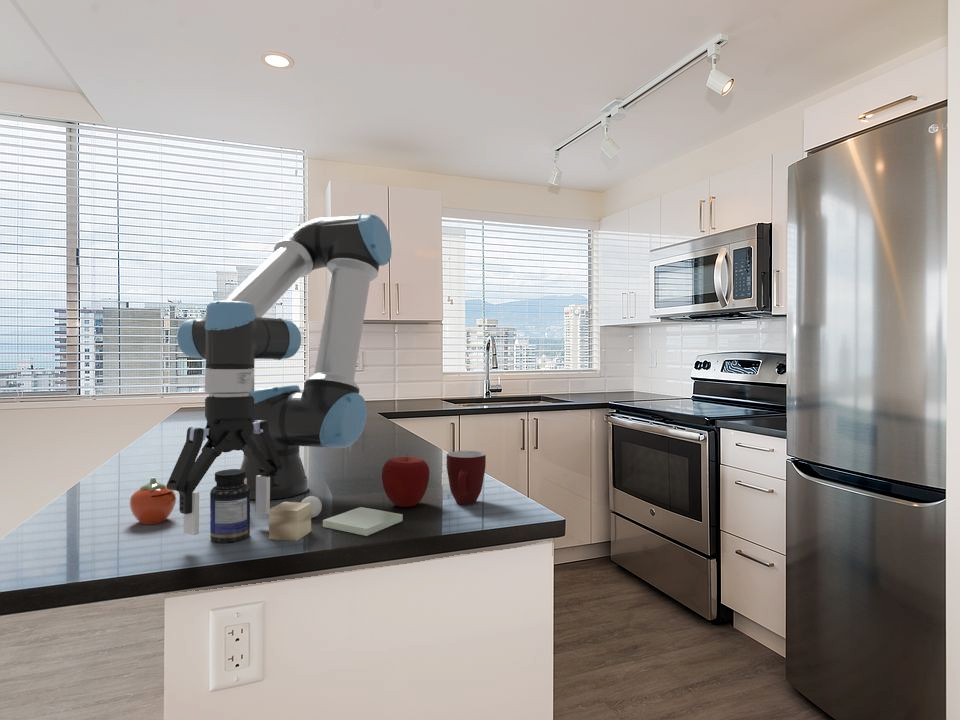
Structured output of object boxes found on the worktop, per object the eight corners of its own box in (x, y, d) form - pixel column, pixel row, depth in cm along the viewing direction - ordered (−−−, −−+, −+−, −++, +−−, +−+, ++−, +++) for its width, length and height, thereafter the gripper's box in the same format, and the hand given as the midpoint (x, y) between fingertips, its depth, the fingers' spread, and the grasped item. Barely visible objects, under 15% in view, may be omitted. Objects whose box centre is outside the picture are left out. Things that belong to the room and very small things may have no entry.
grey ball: (294, 518, 107) (294, 497, 107) (310, 513, 110) (310, 492, 110) (310, 522, 105) (310, 500, 105) (326, 516, 108) (326, 495, 108)
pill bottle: (218, 532, 99) (218, 468, 99) (255, 531, 99) (254, 467, 99) (204, 544, 93) (204, 475, 93) (243, 543, 93) (243, 475, 93)
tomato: (145, 530, 100) (144, 484, 100) (120, 523, 104) (120, 479, 103) (185, 519, 106) (184, 476, 106) (160, 513, 110) (160, 471, 110)
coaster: (322, 526, 102) (322, 520, 102) (360, 513, 111) (360, 506, 111) (366, 535, 97) (366, 528, 97) (402, 520, 106) (402, 514, 106)
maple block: (269, 539, 96) (269, 509, 95) (284, 530, 100) (284, 501, 100) (297, 541, 95) (297, 510, 95) (310, 531, 100) (311, 503, 100)
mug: (486, 511, 113) (486, 460, 113) (444, 511, 113) (445, 460, 112) (484, 497, 123) (485, 450, 123) (447, 497, 123) (447, 450, 123)
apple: (431, 510, 113) (431, 459, 113) (381, 512, 111) (381, 461, 111) (427, 498, 122) (427, 451, 122) (381, 500, 121) (381, 452, 120)
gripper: (172, 400, 83) (170, 547, 83) (303, 392, 105) (302, 508, 105) (141, 398, 87) (140, 539, 87) (274, 390, 108) (273, 503, 108)
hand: (229, 522), depth 96 cm, fingers open, 13 cm apart
